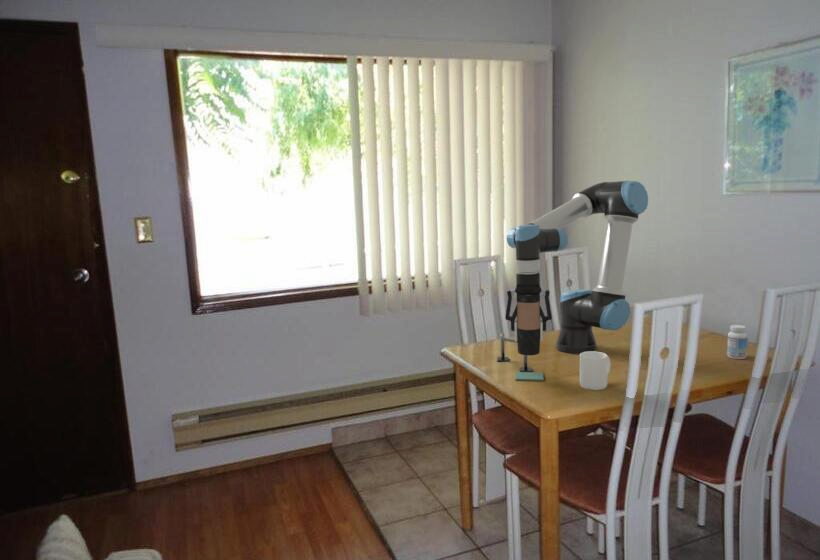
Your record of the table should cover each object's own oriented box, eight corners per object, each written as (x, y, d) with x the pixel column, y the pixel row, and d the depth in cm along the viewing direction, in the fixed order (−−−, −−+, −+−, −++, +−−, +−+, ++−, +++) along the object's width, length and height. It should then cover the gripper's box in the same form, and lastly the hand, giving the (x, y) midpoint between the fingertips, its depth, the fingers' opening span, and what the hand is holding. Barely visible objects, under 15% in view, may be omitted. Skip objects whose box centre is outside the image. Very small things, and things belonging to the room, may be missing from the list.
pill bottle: (745, 355, 199) (747, 324, 197) (747, 360, 194) (749, 328, 192) (726, 354, 202) (727, 323, 200) (727, 358, 196) (729, 327, 194)
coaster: (542, 374, 189) (542, 372, 189) (543, 380, 182) (543, 379, 182) (515, 373, 191) (515, 372, 191) (515, 380, 184) (515, 378, 184)
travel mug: (540, 355, 181) (540, 295, 178) (516, 355, 182) (516, 295, 179) (540, 349, 188) (539, 291, 185) (517, 349, 190) (516, 291, 187)
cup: (574, 385, 177) (574, 354, 176) (599, 377, 184) (599, 347, 182) (595, 392, 170) (595, 360, 169) (620, 383, 177) (620, 353, 175)
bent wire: (530, 358, 207) (529, 331, 205) (531, 372, 191) (531, 343, 190) (497, 358, 209) (497, 331, 207) (496, 372, 194) (495, 343, 192)
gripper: (559, 270, 183) (559, 337, 186) (496, 271, 187) (497, 337, 190) (561, 273, 176) (561, 343, 179) (495, 274, 179) (497, 343, 183)
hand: (528, 340), depth 185 cm, fingers closed on travel mug, 8 cm apart
